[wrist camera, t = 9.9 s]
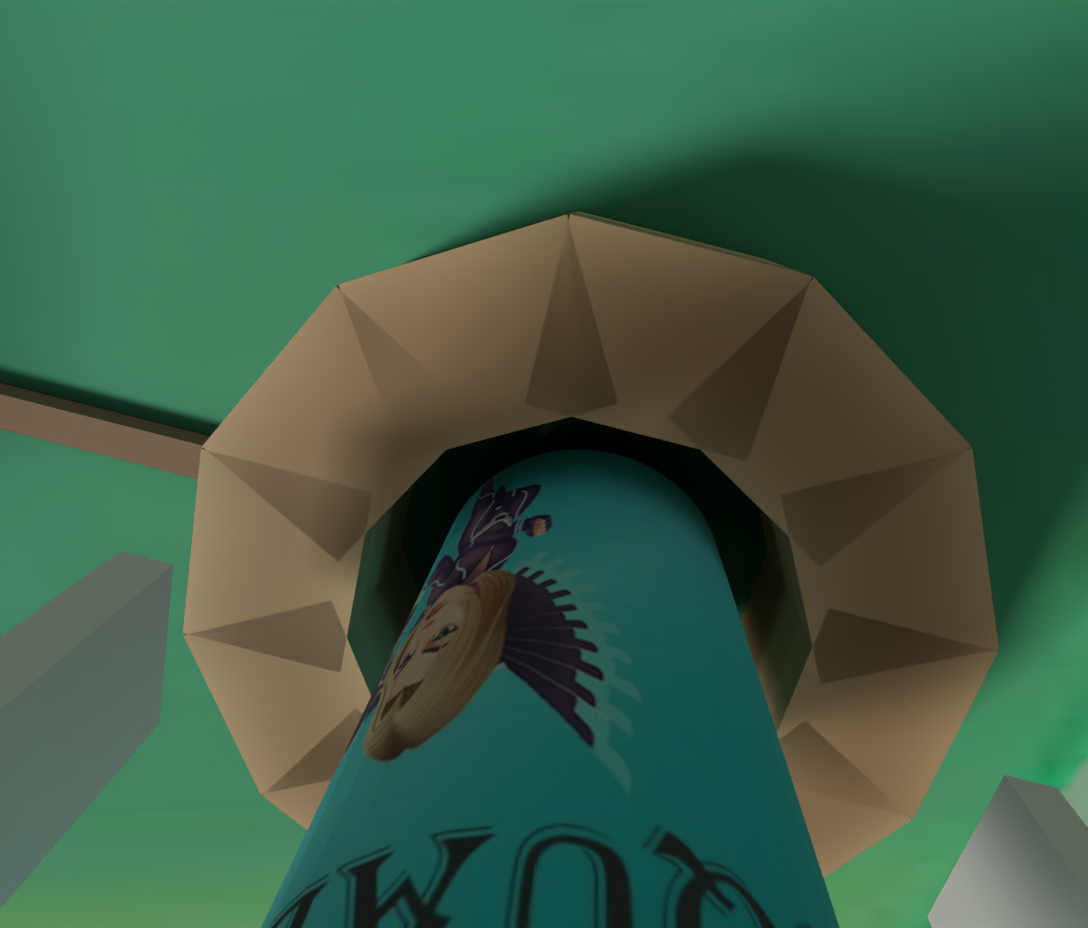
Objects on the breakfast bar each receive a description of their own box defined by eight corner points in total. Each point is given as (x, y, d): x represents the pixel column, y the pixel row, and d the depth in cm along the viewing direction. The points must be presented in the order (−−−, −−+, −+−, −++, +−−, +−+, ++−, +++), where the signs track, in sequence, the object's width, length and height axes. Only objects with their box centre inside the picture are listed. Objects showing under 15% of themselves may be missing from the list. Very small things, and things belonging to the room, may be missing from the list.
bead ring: (325, 146, 15) (232, 127, 11) (1013, 322, 15) (1146, 362, 12) (246, 721, 20) (162, 842, 16) (777, 854, 20) (817, 1007, 16)
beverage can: (593, 370, 16) (507, 1501, 2) (764, 559, 17) (1461, 2146, 3) (405, 534, 18) (-369, 1819, 4) (573, 698, 19) (473, 2184, 5)
